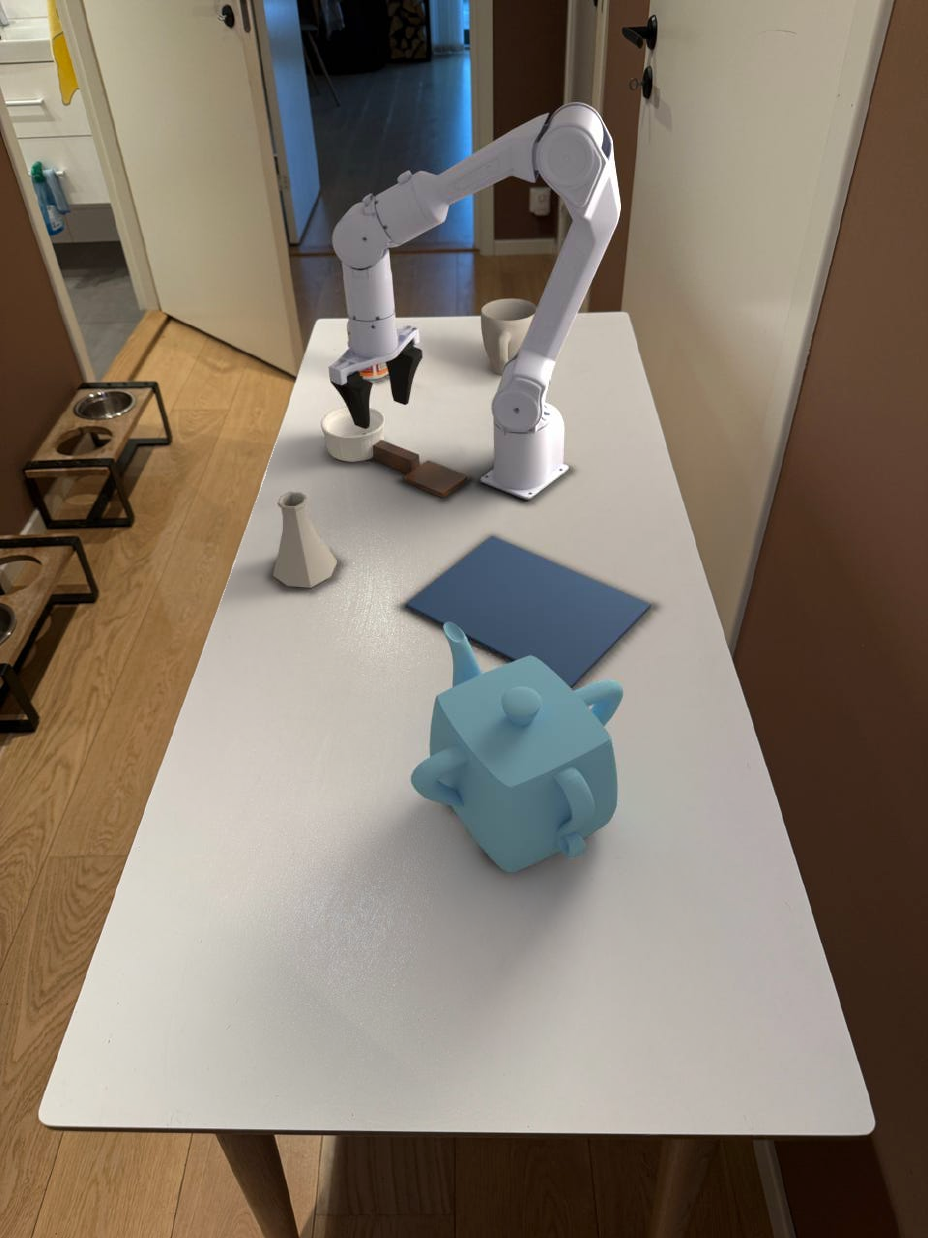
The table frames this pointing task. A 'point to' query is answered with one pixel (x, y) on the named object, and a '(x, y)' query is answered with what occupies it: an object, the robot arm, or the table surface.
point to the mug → (505, 328)
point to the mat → (530, 608)
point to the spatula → (418, 469)
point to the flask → (301, 546)
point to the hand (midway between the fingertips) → (381, 413)
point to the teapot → (521, 757)
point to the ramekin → (351, 435)
